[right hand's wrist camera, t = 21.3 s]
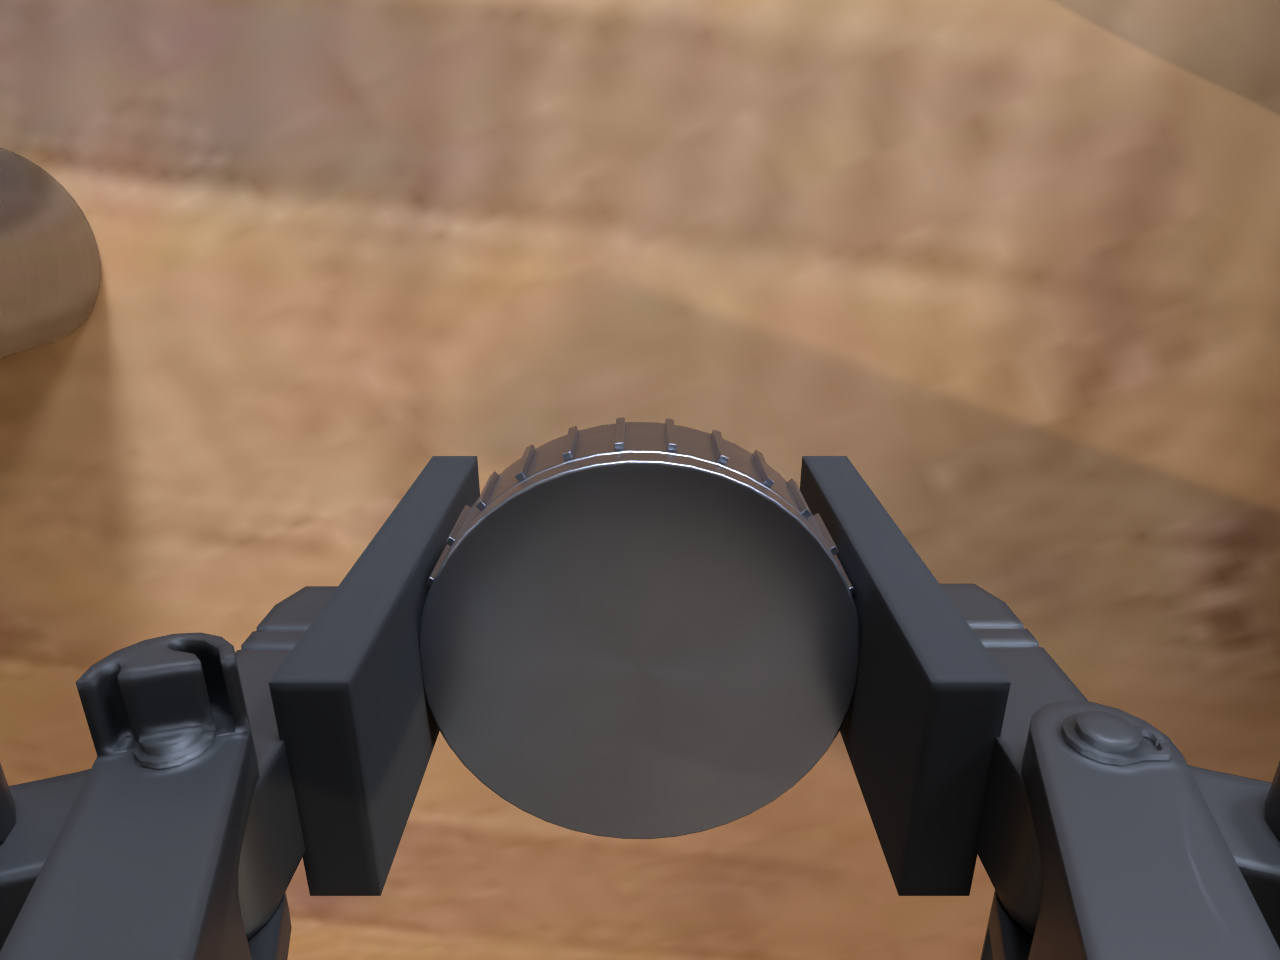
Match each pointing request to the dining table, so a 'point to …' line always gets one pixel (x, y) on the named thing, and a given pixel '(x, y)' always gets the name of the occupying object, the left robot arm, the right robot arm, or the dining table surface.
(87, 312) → the grey metal cylinder
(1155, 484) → the dining table surface
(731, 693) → the lid
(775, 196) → the dining table surface
